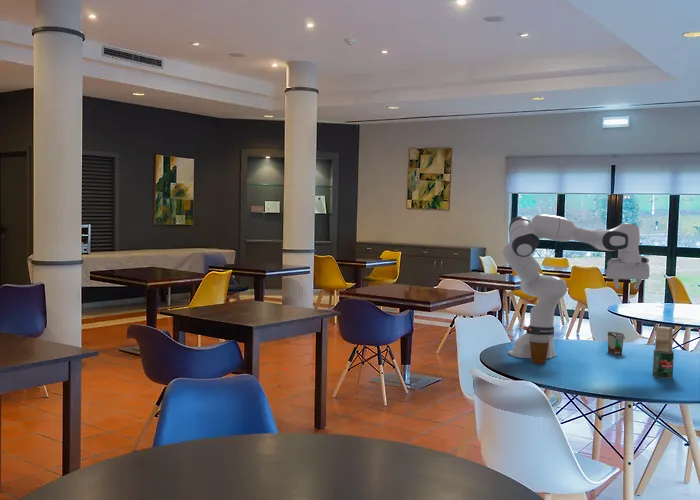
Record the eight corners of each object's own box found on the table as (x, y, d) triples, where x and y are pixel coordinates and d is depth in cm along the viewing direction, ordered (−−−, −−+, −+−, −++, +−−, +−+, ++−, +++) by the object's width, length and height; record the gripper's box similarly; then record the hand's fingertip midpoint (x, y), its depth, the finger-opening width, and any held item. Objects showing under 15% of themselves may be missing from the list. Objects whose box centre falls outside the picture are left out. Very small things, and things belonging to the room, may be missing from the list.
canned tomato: (666, 379, 289) (667, 353, 289) (648, 375, 296) (649, 350, 295) (676, 377, 294) (677, 351, 294) (658, 373, 300) (659, 348, 300)
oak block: (667, 352, 291) (668, 328, 291) (655, 350, 295) (656, 327, 295) (671, 350, 295) (672, 327, 295) (659, 349, 299) (660, 326, 298)
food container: (628, 356, 339) (629, 335, 339) (615, 355, 340) (616, 335, 339) (619, 351, 352) (619, 331, 351) (606, 351, 352) (607, 331, 351)
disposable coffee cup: (550, 365, 312) (551, 339, 312) (528, 363, 314) (529, 337, 314) (548, 361, 322) (549, 335, 321) (527, 359, 323) (528, 334, 323)
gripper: (612, 258, 310) (610, 289, 310) (652, 259, 314) (650, 289, 315) (603, 257, 316) (602, 288, 317) (643, 258, 320) (642, 288, 321)
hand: (627, 288), depth 316 cm, fingers open, 8 cm apart
